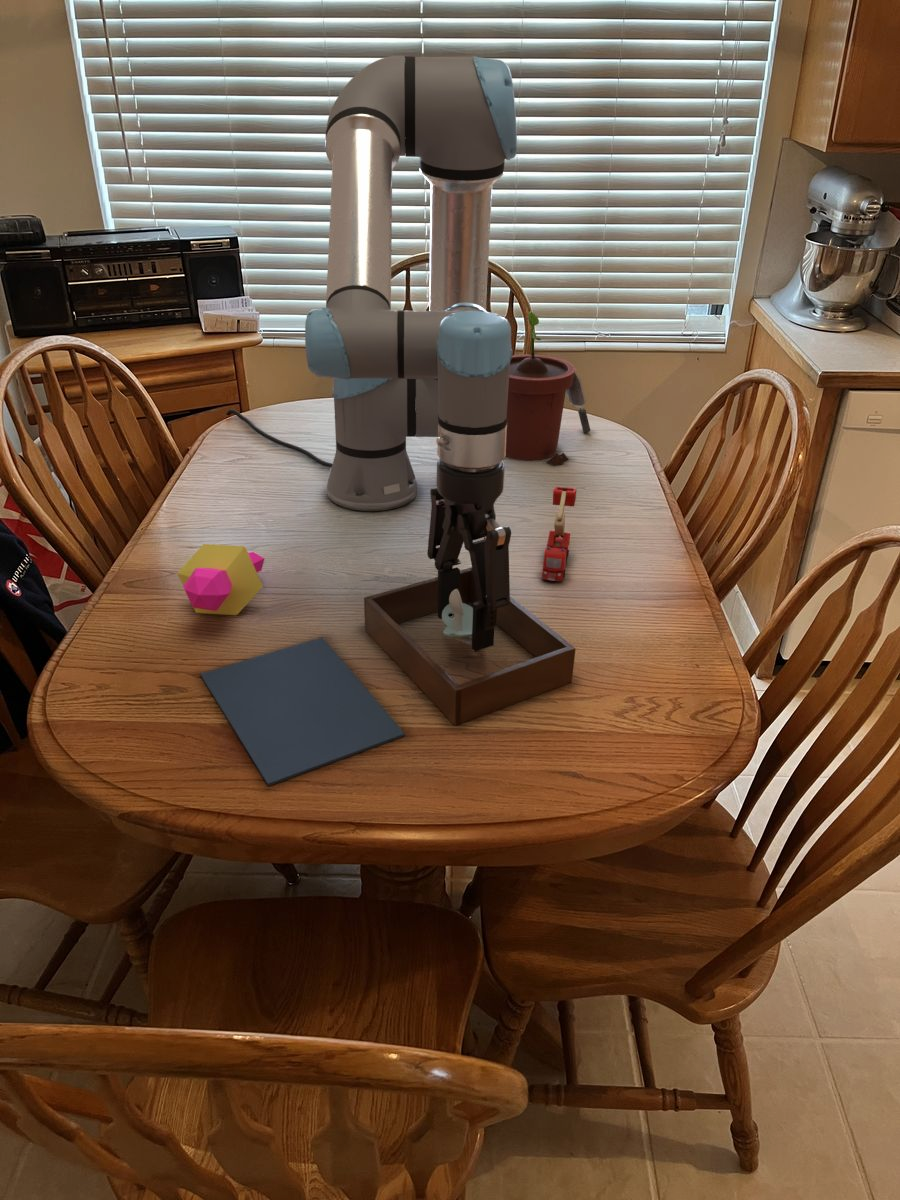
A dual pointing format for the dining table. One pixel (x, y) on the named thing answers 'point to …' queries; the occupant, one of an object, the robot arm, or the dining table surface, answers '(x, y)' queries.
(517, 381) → the potted plant
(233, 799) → the dining table surface
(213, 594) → the toy
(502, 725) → the dining table surface
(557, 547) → the toy fire truck
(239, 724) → the mat
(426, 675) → the open box
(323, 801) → the dining table surface
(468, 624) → the pacifier
